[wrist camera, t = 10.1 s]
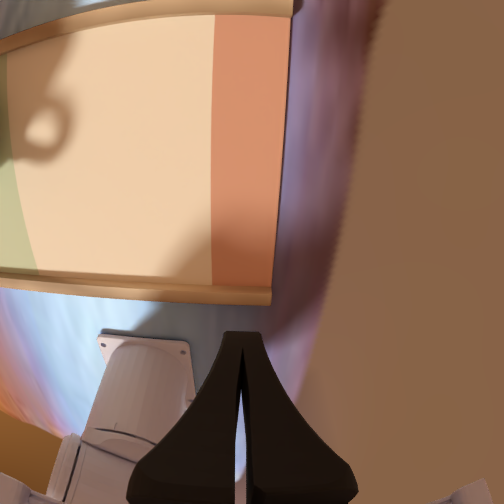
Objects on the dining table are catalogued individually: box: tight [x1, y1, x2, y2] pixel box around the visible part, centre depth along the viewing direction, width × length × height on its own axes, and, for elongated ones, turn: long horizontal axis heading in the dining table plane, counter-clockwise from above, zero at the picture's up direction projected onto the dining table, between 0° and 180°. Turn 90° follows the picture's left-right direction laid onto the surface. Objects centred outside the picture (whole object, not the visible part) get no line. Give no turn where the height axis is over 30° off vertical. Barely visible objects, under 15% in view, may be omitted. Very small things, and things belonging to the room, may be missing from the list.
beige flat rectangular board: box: [0, 0, 293, 306], centre depth 17 cm, size 19×33×1 cm, turn 88°
